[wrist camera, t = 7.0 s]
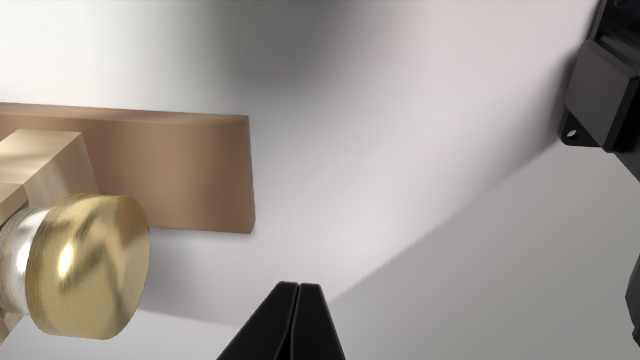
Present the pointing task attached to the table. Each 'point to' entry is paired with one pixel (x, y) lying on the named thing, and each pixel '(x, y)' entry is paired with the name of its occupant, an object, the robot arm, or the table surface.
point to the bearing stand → (128, 165)
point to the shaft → (76, 264)
